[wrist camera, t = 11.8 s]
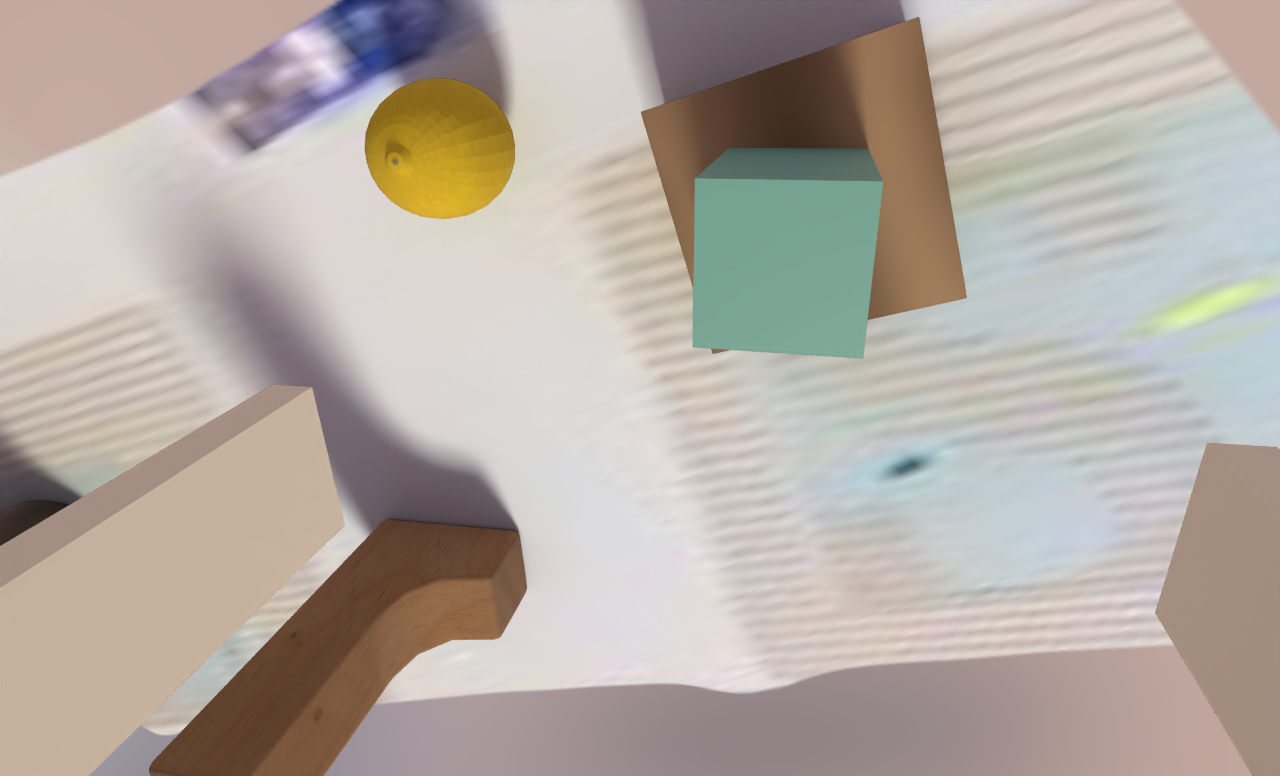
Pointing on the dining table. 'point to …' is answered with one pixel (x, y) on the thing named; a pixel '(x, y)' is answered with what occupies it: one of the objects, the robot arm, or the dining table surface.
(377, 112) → the lemon
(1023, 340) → the dining table surface
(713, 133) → the walnut base block
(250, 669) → the wooden block
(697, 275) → the teal block
